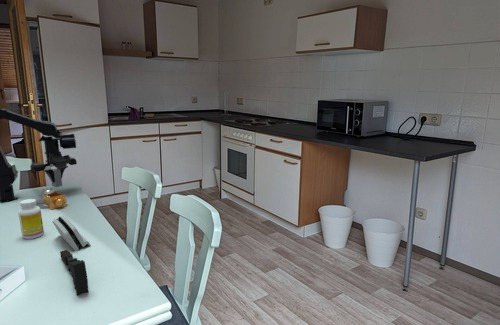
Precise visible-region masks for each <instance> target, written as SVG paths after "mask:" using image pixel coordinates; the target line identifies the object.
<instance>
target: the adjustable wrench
mask: <svg viewBox="0 0 500 325" xmlns="http://www.w3.org/2000/svg"><path fill="white" fill-rule="evenodd" d="M59 254H60V258H61V260H62V262H63V263H64V264H65V266H66V267H67V266H68V267H67V271H68V272H70V276H71V279H72V283H73V288H74V290H75V293H76V294H75V295H76V296H81V295H83V294H87V293H89V284H88V283H89V282H88V281H89V280H88V273H87V267H86V262H85V260H83V259H81V260H80V259H78V258H77V257H74V256H73V254H72V253H71V252H70V251H69V250H68V249H64V250H60V253H59Z"/></svg>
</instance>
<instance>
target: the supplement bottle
mask: <svg viewBox="0 0 500 325" xmlns="http://www.w3.org/2000/svg"><path fill="white" fill-rule="evenodd" d="M36 200H37V199H36V198H28V199H24V200H21V201H20V202H19V203H20V207H21V208H19V210H18V219H19V225H20V231H21V237H22V238H23V239H25V240H32V239H36V238H39V237H41V236H43V235H44V233H45V230H44V223H43V217H42V209H40V207H38V206H36Z"/></svg>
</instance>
